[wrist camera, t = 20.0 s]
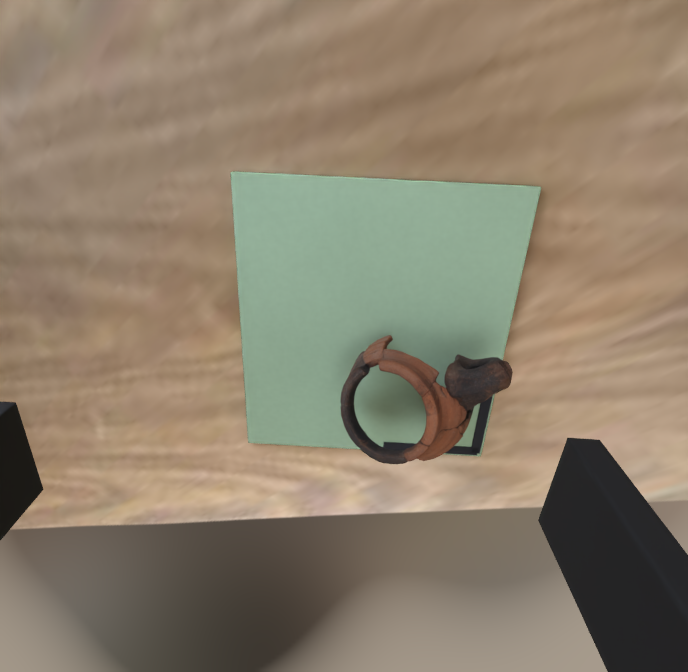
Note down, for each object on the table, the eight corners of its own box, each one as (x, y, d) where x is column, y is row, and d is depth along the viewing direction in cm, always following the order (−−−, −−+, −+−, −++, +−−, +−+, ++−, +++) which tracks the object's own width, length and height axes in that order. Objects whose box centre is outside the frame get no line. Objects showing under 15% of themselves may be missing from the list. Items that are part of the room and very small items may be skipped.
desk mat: (249, 438, 39) (247, 443, 38) (232, 171, 29) (229, 172, 28) (479, 452, 38) (481, 457, 38) (538, 186, 29) (542, 187, 28)
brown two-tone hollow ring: (411, 449, 38) (367, 495, 31) (360, 352, 39) (306, 376, 32) (545, 398, 32) (529, 442, 25) (481, 284, 33) (447, 296, 26)
